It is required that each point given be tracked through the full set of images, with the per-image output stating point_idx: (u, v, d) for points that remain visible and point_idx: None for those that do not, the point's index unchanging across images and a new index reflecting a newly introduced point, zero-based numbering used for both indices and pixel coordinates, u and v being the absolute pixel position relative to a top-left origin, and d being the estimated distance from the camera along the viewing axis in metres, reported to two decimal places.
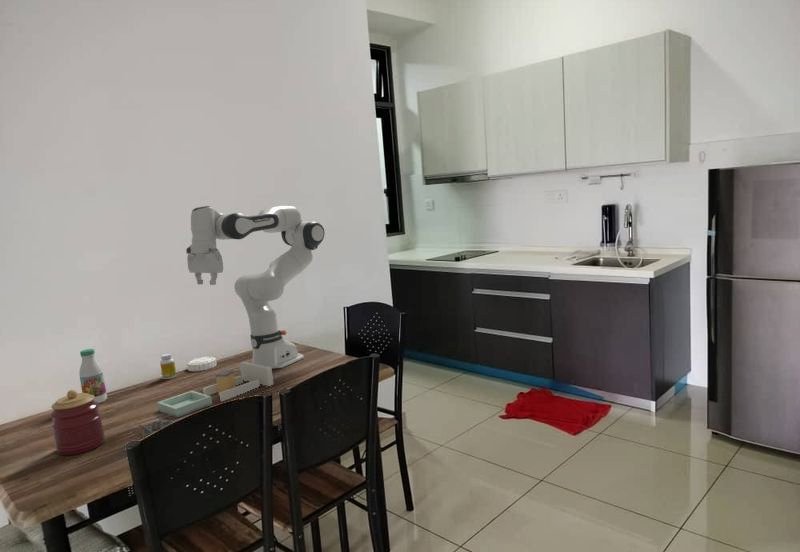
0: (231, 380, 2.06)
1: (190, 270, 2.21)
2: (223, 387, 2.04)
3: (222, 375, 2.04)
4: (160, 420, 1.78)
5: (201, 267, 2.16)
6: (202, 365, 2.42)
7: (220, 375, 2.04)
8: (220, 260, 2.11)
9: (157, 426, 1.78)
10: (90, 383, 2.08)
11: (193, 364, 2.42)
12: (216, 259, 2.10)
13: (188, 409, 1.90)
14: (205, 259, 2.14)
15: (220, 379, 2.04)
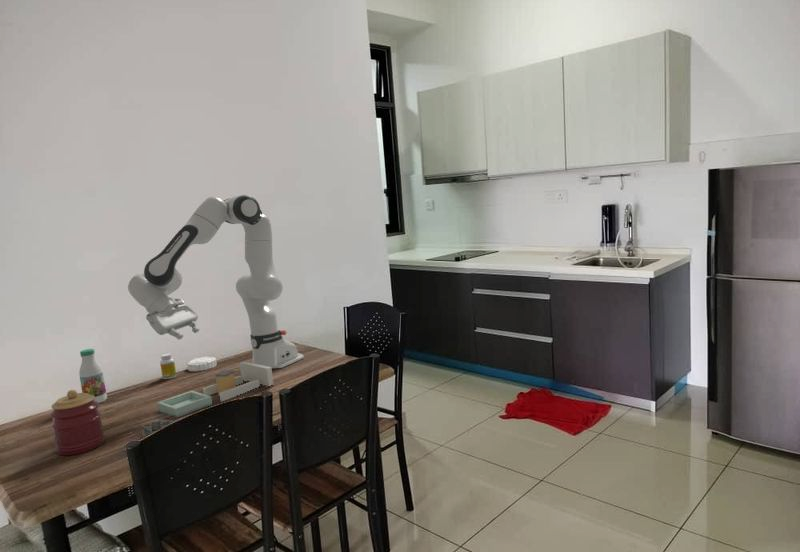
0: (231, 380, 2.06)
1: None
2: (223, 387, 2.04)
3: (222, 375, 2.04)
4: (160, 420, 1.78)
5: None
6: (202, 365, 2.42)
7: (220, 375, 2.04)
8: (155, 322, 1.99)
9: (156, 426, 1.78)
10: (90, 383, 2.08)
11: (193, 364, 2.42)
12: (152, 325, 2.00)
13: (188, 409, 1.90)
14: None
15: (220, 379, 2.04)
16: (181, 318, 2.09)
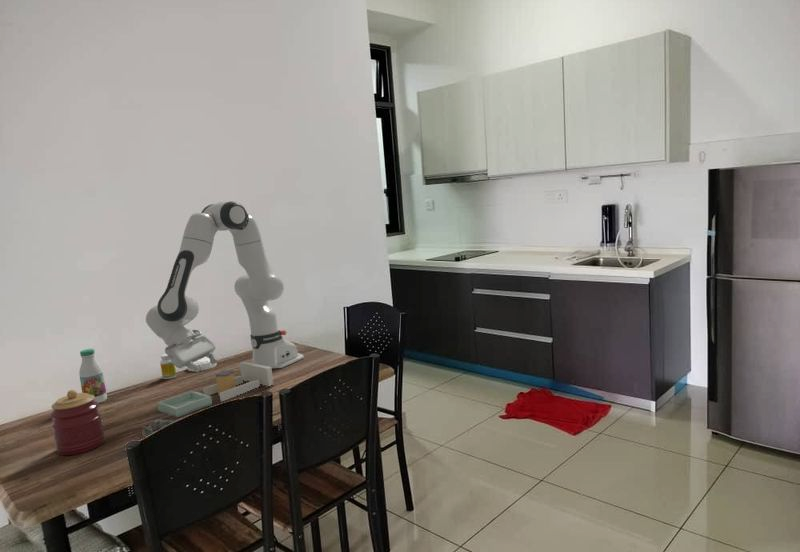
0: (231, 380, 2.06)
1: None
2: (223, 387, 2.04)
3: (222, 375, 2.04)
4: (159, 420, 1.78)
5: None
6: (202, 365, 2.42)
7: (220, 375, 2.04)
8: (173, 355, 1.99)
9: (156, 426, 1.78)
10: (90, 383, 2.08)
11: None
12: (170, 358, 2.00)
13: (188, 409, 1.90)
14: None
15: (220, 379, 2.04)
16: (199, 350, 2.09)
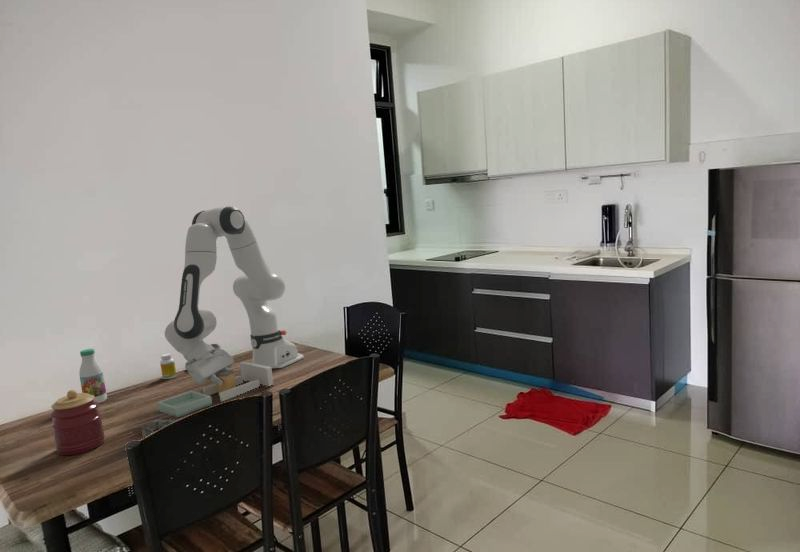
0: (231, 380, 2.06)
1: None
2: (223, 386, 2.04)
3: (222, 375, 2.04)
4: (158, 420, 1.78)
5: None
6: None
7: (220, 375, 2.04)
8: (194, 371, 1.98)
9: (155, 426, 1.78)
10: (90, 383, 2.08)
11: None
12: (191, 373, 1.98)
13: (188, 409, 1.90)
14: None
15: (220, 378, 2.04)
16: (219, 364, 2.08)
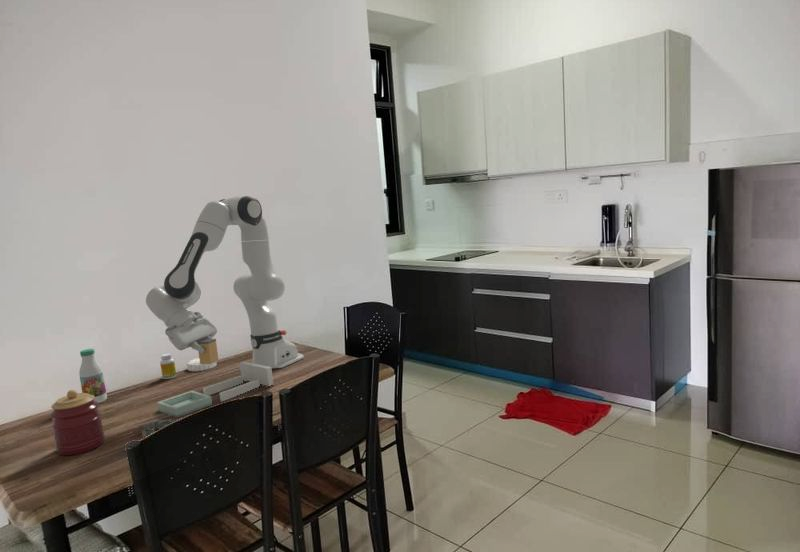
0: (213, 348, 2.01)
1: None
2: (204, 354, 1.99)
3: (204, 342, 1.98)
4: (157, 420, 1.78)
5: None
6: (202, 365, 2.42)
7: (202, 342, 1.99)
8: (174, 337, 1.92)
9: (153, 427, 1.78)
10: (90, 383, 2.08)
11: (193, 364, 2.42)
12: (171, 340, 1.93)
13: (188, 409, 1.90)
14: None
15: None
16: (201, 332, 2.02)
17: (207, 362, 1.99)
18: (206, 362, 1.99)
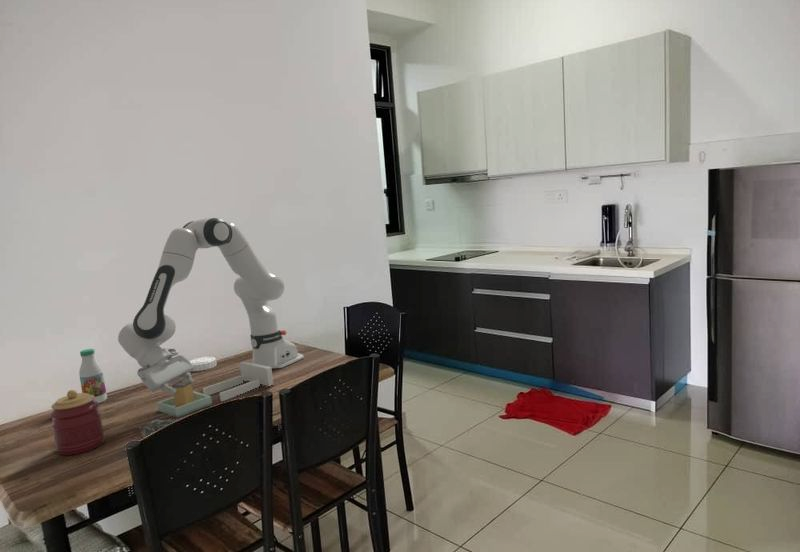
0: (189, 391, 1.95)
1: None
2: (180, 398, 1.93)
3: (179, 386, 1.93)
4: (156, 421, 1.78)
5: None
6: (202, 365, 2.42)
7: (177, 386, 1.93)
8: (146, 378, 1.86)
9: (152, 427, 1.78)
10: (90, 383, 2.08)
11: (193, 364, 2.42)
12: (143, 381, 1.87)
13: (188, 409, 1.90)
14: None
15: None
16: (175, 370, 1.96)
17: None
18: None
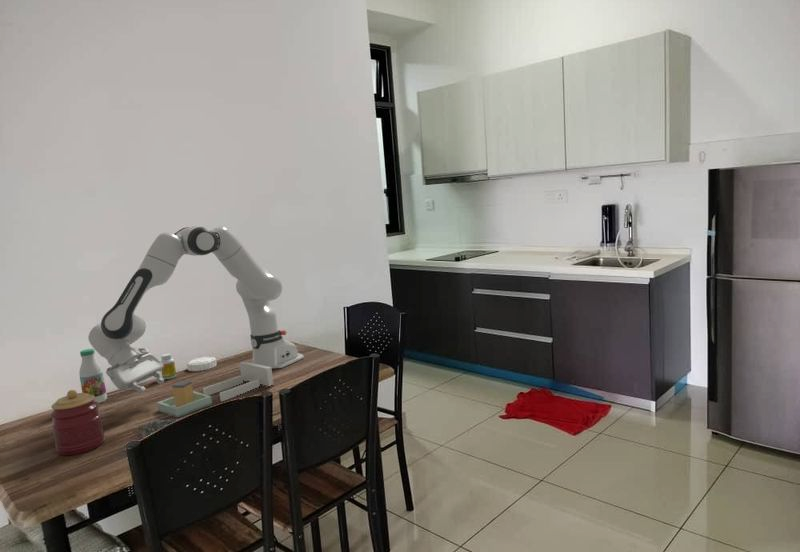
0: (189, 391, 1.95)
1: None
2: (180, 398, 1.93)
3: (179, 386, 1.93)
4: (155, 421, 1.78)
5: None
6: (202, 365, 2.42)
7: (177, 386, 1.93)
8: (115, 377, 1.90)
9: (151, 427, 1.77)
10: (90, 383, 2.08)
11: (193, 364, 2.42)
12: (112, 379, 1.91)
13: (188, 409, 1.90)
14: None
15: (176, 390, 1.93)
16: (145, 369, 2.00)
17: None
18: None
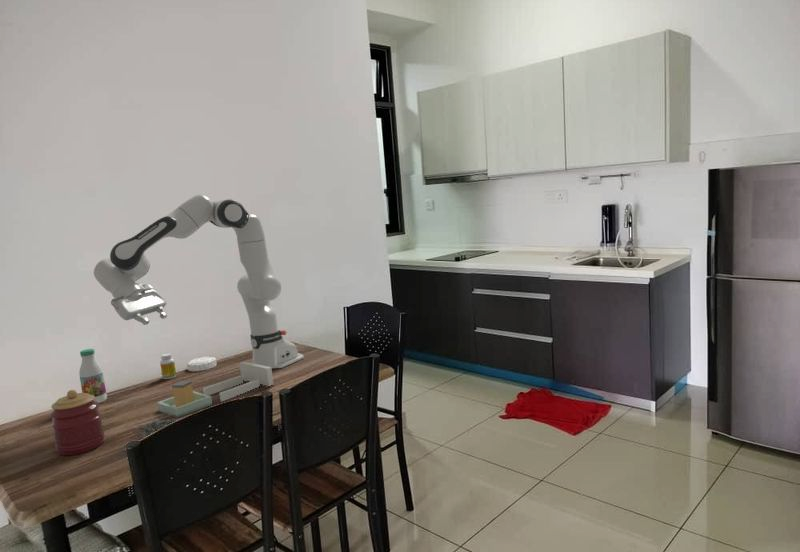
0: (189, 391, 1.95)
1: None
2: (180, 398, 1.93)
3: (179, 386, 1.93)
4: (155, 421, 1.77)
5: None
6: (202, 365, 2.42)
7: (177, 386, 1.93)
8: (119, 307, 1.96)
9: (151, 428, 1.77)
10: (90, 383, 2.08)
11: (193, 364, 2.42)
12: (116, 310, 1.97)
13: (188, 409, 1.90)
14: None
15: (176, 390, 1.93)
16: (148, 303, 2.06)
17: None
18: None
